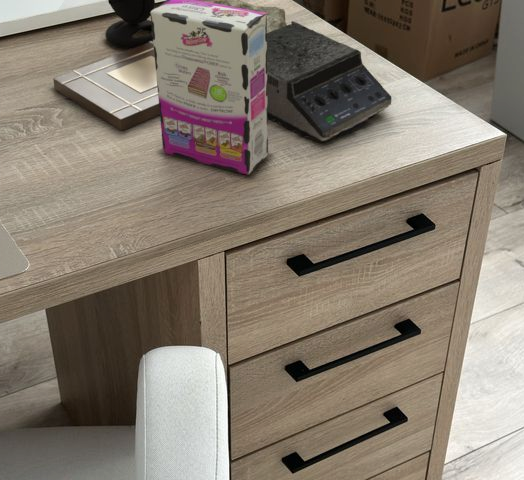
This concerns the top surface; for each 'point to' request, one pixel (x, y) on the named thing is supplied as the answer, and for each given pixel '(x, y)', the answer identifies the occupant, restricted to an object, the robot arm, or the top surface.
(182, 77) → the candy bar box
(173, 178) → the top surface
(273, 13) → the rock
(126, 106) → the grid board
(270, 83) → the electronic device
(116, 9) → the webcam
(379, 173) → the top surface
